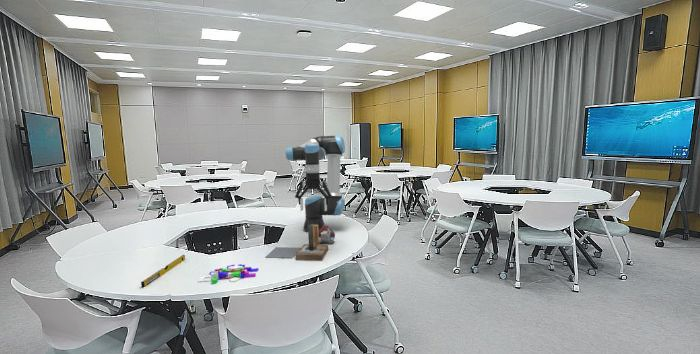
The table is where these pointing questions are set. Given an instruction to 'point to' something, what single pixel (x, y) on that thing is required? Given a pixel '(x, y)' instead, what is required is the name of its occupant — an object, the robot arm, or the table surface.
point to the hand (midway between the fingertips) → (313, 210)
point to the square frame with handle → (315, 242)
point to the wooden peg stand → (311, 247)
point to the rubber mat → (283, 252)
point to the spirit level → (162, 271)
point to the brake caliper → (326, 235)
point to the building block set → (230, 273)
